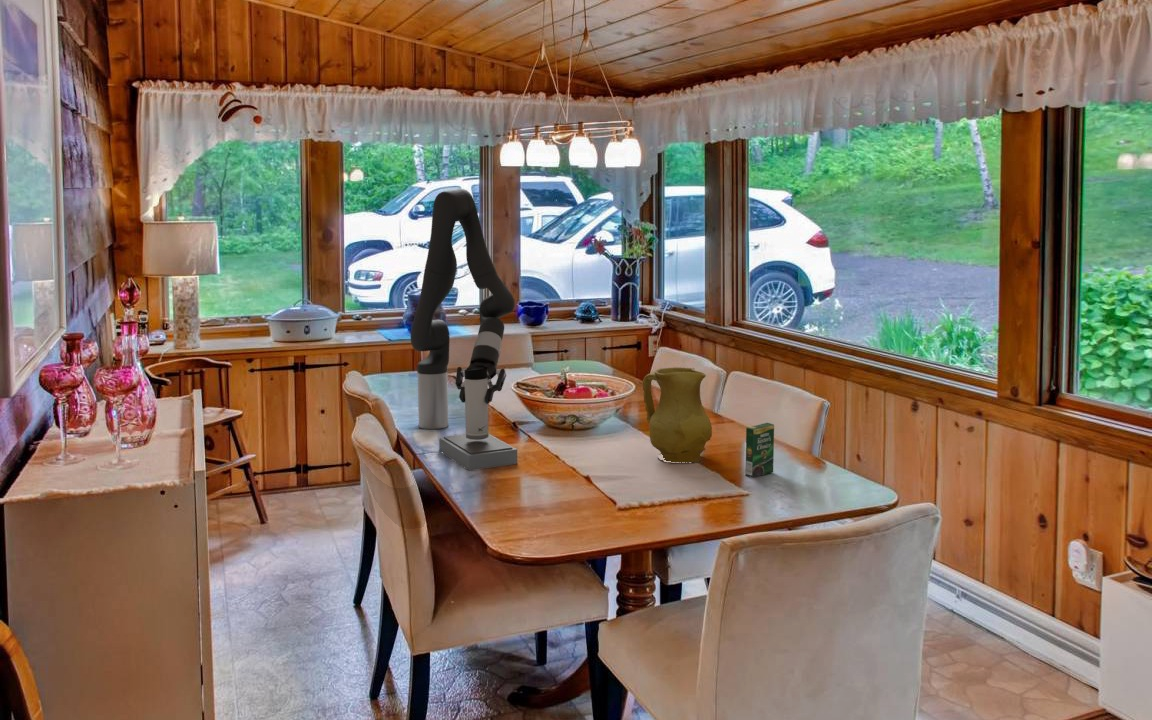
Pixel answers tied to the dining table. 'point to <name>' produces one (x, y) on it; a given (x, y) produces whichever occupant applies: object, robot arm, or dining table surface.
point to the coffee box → (759, 449)
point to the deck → (478, 451)
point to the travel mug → (476, 402)
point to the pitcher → (677, 414)
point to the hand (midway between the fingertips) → (474, 401)
